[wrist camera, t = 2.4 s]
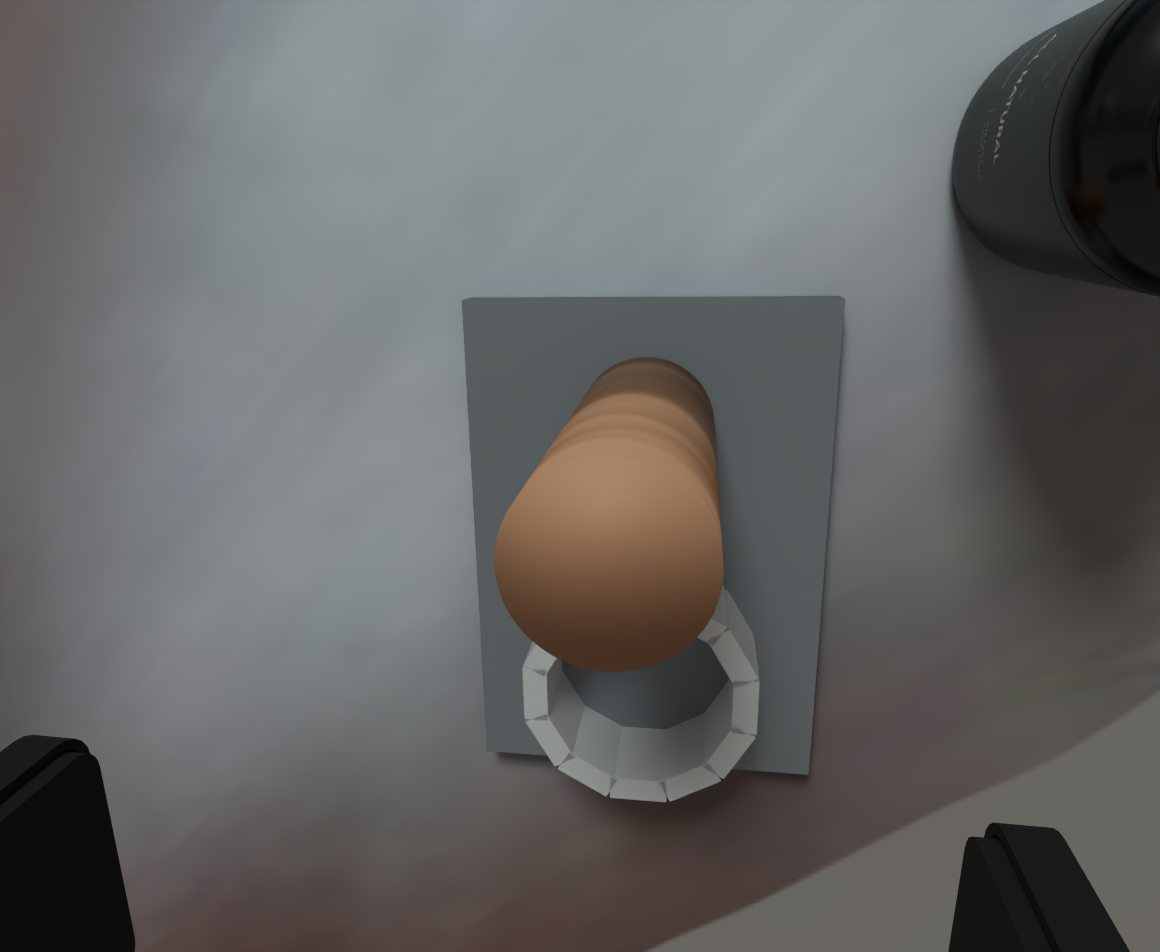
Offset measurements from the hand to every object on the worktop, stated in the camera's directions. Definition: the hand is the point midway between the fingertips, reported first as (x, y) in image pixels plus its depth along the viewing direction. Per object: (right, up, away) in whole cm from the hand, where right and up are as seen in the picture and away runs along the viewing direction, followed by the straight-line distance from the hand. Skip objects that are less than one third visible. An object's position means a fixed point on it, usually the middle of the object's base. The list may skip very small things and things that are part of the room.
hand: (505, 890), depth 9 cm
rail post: (+3, +6, +18) cm, 20 cm away
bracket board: (+3, +2, +21) cm, 21 cm away
